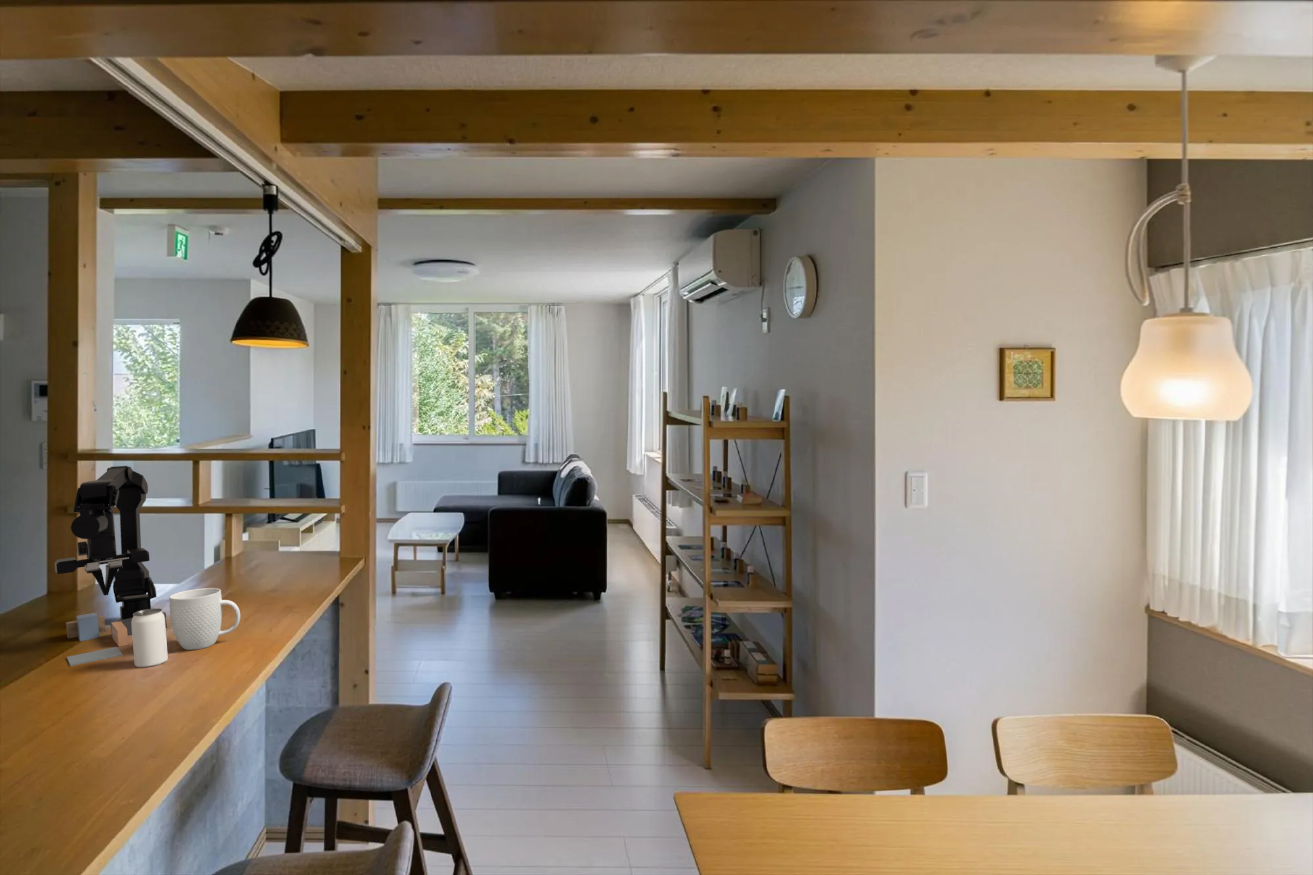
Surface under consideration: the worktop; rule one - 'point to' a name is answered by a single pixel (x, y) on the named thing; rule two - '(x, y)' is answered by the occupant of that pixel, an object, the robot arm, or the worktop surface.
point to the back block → (73, 629)
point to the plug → (87, 626)
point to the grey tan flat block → (124, 630)
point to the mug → (199, 617)
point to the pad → (94, 656)
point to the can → (149, 638)
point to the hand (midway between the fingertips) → (105, 595)
